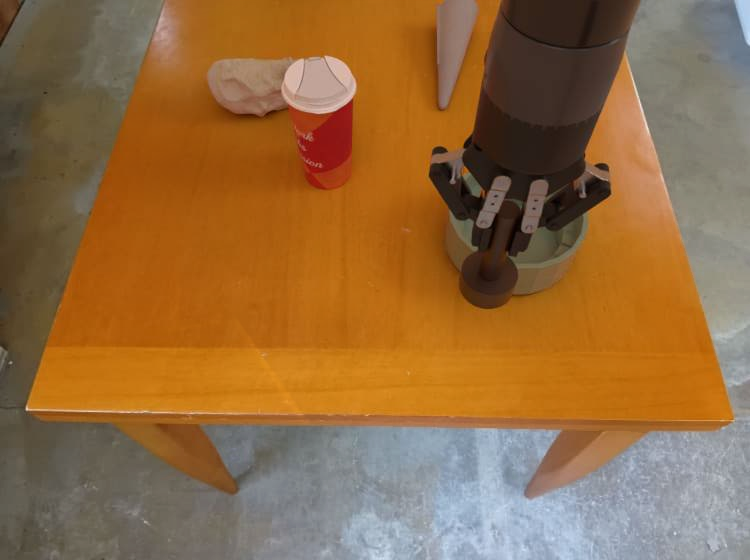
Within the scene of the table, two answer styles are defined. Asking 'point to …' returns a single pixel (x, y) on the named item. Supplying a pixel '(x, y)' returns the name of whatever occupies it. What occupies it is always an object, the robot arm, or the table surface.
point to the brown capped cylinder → (492, 264)
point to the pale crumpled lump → (249, 84)
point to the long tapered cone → (452, 43)
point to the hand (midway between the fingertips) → (497, 246)
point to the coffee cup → (322, 118)
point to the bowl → (534, 265)
